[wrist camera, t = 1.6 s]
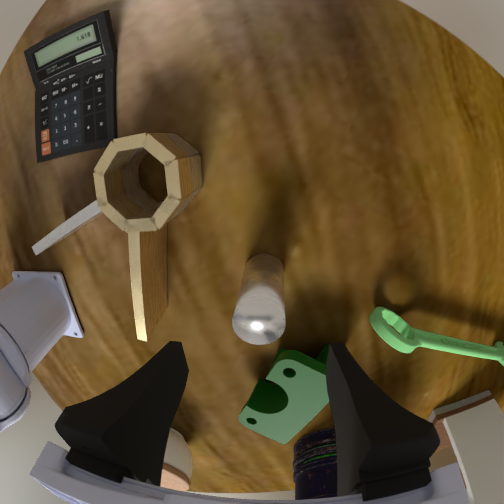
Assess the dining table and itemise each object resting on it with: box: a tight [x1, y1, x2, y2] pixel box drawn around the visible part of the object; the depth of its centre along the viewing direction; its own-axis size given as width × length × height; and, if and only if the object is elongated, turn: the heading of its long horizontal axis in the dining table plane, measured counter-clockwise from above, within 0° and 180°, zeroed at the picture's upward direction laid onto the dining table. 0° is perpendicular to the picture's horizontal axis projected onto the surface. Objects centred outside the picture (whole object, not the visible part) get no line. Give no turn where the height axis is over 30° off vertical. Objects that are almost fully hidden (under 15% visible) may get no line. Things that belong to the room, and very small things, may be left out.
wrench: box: [370, 307, 504, 366], centre depth 21 cm, size 25×2×5 cm, turn 73°
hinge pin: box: [232, 253, 285, 345], centre depth 19 cm, size 3×3×7 cm
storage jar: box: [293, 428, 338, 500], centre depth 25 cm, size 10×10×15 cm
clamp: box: [239, 344, 329, 445], centre depth 24 cm, size 11×6×8 cm, turn 152°
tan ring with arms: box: [32, 133, 203, 341], centre depth 20 cm, size 14×14×5 cm
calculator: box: [24, 10, 117, 163], centre depth 17 cm, size 9×12×3 cm
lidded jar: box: [160, 428, 193, 491], centre depth 29 cm, size 11×11×9 cm
